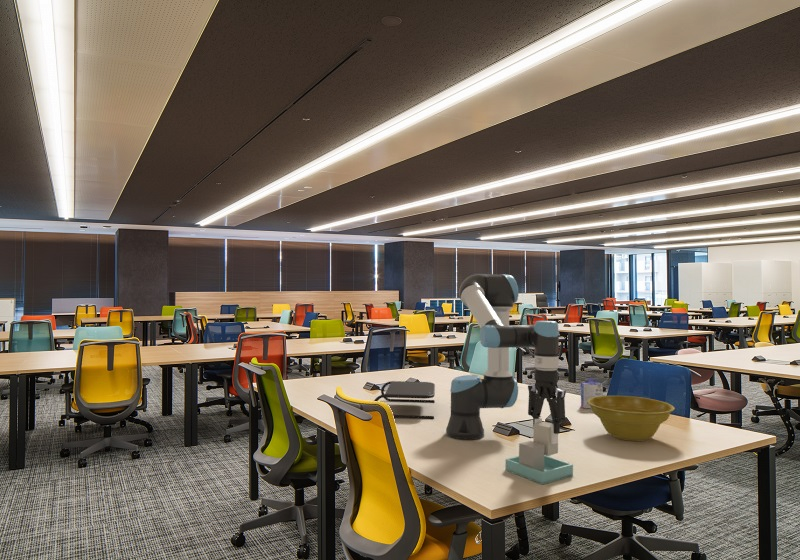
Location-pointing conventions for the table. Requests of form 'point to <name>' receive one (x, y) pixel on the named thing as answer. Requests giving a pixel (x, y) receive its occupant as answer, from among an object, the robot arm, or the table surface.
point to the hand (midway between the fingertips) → (546, 440)
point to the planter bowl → (630, 415)
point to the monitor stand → (408, 394)
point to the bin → (551, 472)
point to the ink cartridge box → (590, 391)
